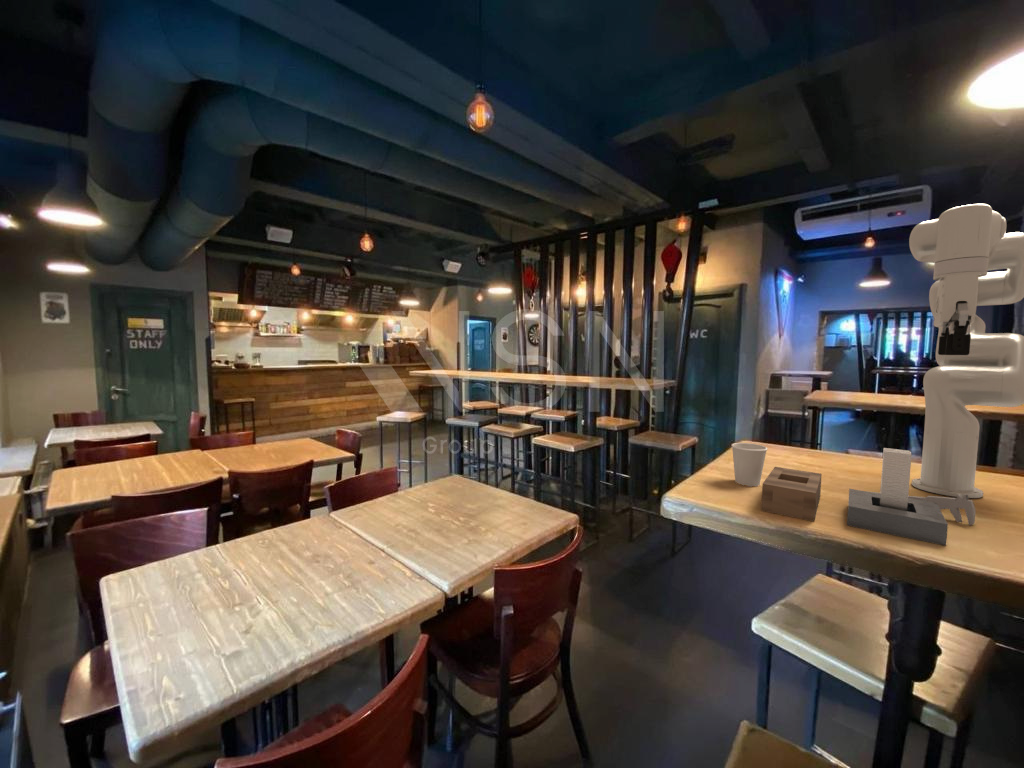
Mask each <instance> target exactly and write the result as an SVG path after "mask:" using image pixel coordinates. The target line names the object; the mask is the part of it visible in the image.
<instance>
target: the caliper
mask: <svg viewBox="0 0 1024 768" xmlns="http://www.w3.org/2000/svg"><path fill="white" fill-rule="evenodd" d="M872 492H873V493H879V494H880V492H876V491H872ZM956 495H957V497H949V496H946V497H944V496H937V495H935V496H934V495H927V496H925V497H924V496H914V495H908V498H910V499H916V500H922V501H928V502H934V503H937V505H938V507H939V508H940V510H941V511H942V510H946V509H947V510H949V512H950V514H951V515H952V517H953V518H954V520H955V521H957V522H956V523H959V522H961V523H963V516H962V514H961V509H962V510H964V511H965V515H966V518H967V519H966V520H967V523H968V525H969V526H973V525H974V524H975V523H976V522H975V521H976V511H977V510H976V507H975V504H974V500H972V499H970V498H968V495H967V494H966V495H964V496H963V497H962V496H961V495H960V494H956Z"/></svg>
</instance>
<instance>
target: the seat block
mask: <svg viewBox="0 0 1024 768" xmlns="http://www.w3.org/2000/svg"><path fill="white" fill-rule="evenodd" d="M848 489H849V490H848V501H847V503H848V504H847V518H846V520H847V521H846V526H849V527H854V528H858V529H863V530H867V531H873V532H878V533H883V534H887V535H892V536H896V537H901V538H907V539H910V540H911V539H912V540H915V541H916V540H917V541H921V542H926V543H931V544H936V545H940V546H947V541H948V540H947V538H948V528H949V527H948V526H949V524H948V522H947V519H946V518H945V517H944V514H943V513H942V510H940V508H939V507H938V505H937V503H934V502H928V501H922V500H916V499H910V498H908V505H907V511H903V510H897V509H891V508H886V507H880V506H879V504H880V494H879V493H880V492H878V493H873V492H874V491H868V490H867V491H865V490H860V489H854V488H848Z"/></svg>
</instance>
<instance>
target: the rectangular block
mask: <svg viewBox="0 0 1024 768" xmlns="http://www.w3.org/2000/svg"><path fill="white" fill-rule="evenodd" d="M882 452H883V453H882V462H881V463H882V464H881V465H882V467H881V476H880V477H881V478H880V479H881V480H880V490H879V491H880V492H879V493H880V504H879V506H880V507H886V508H891V509H897V510H903V511H907V505H908V496H909V490H910V479H911V478H910V477H911V466H912V465H911V464H912V452H911V450H906V449H897V448H889V447H888V448H887V447H883V451H882Z"/></svg>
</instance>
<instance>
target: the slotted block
mask: <svg viewBox="0 0 1024 768" xmlns="http://www.w3.org/2000/svg"><path fill="white" fill-rule="evenodd" d="M821 486H822V473H820V472H814V471H806V470H800V469H793V468H787V467H780V466H774V467H773V468H772V470H771V471H770V472H769V474H768V475H767V477H766V479H765V480H764V481H763V482H762V486H761V490H762V491H761V505H760V506H761V507H760V509H761V510H763V512H766V511H767V512H768V513H771V512H772V514H776V515H780V514H781V516H785V517H791V518H796V519H800V520H804V521H810V522H815V519H816V515H817V511H818V508H819V505H818V504H820V500H821V492H822V491H821V489H822V487H821ZM761 510H760V511H761Z"/></svg>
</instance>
